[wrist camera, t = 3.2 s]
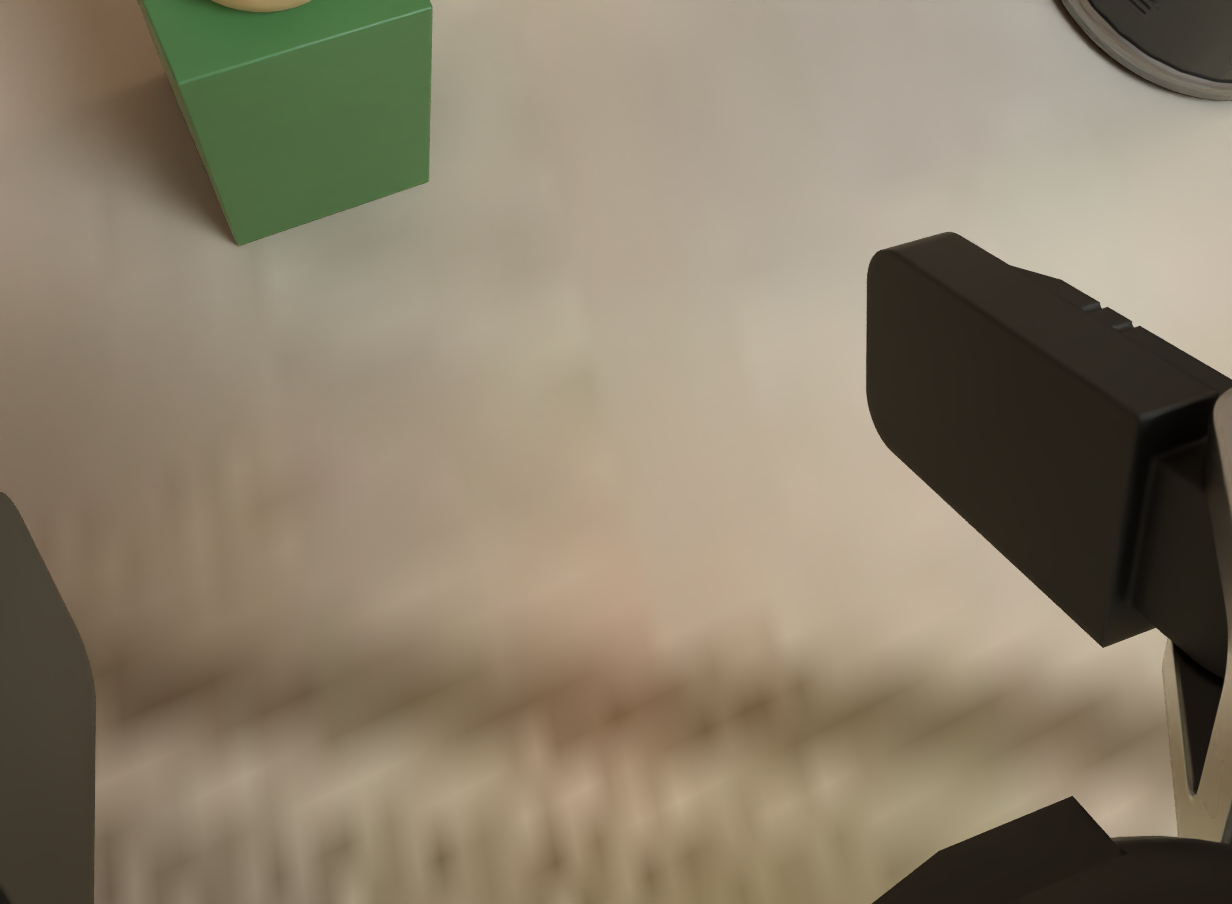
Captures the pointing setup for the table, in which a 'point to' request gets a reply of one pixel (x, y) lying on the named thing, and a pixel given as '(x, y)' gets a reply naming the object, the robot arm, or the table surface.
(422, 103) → the green block
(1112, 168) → the table surface
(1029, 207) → the table surface
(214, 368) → the table surface
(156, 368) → the table surface
